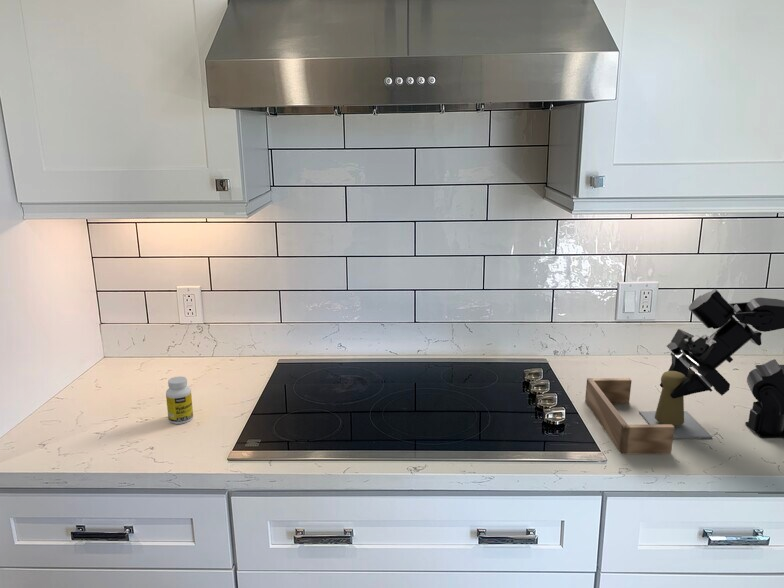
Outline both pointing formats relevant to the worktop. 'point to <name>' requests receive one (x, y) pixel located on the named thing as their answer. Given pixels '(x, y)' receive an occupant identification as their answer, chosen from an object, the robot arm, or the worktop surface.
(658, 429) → the walnut u-shaped bracket
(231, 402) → the worktop surface
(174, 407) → the supplement bottle
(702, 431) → the grey mat
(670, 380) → the olive game pawn
